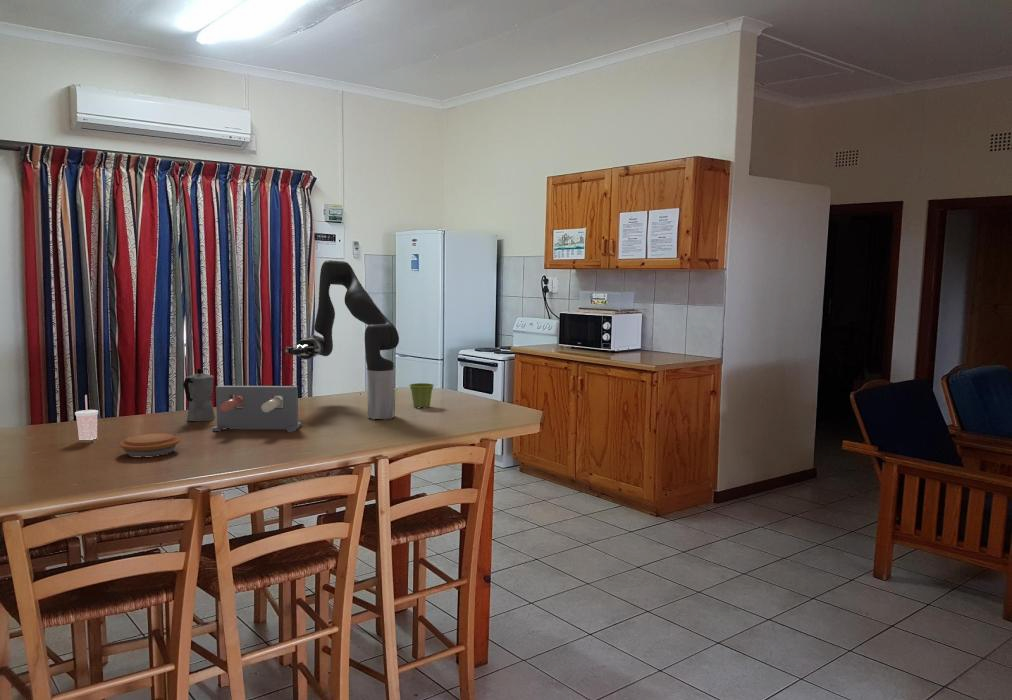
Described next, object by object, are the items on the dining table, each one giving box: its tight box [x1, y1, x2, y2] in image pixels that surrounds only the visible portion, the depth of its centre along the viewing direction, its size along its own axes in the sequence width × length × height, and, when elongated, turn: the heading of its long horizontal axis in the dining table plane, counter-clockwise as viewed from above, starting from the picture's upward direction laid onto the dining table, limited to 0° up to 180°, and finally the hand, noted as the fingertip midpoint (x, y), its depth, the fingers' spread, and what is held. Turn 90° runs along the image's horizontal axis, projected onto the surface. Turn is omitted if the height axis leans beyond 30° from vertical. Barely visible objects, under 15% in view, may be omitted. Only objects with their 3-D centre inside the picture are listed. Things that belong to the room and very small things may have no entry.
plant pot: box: [408, 382, 435, 408], centre depth 284 cm, size 9×9×9 cm
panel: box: [211, 385, 303, 433], centre depth 242 cm, size 26×10×14 cm, turn 90°
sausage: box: [220, 395, 243, 412], centre depth 238 cm, size 5×15×5 cm, turn 0°
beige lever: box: [261, 396, 283, 412], centre depth 238 cm, size 5×15×5 cm, turn 0°
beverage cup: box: [74, 394, 99, 441], centre depth 223 cm, size 6×6×14 cm
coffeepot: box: [182, 368, 216, 422], centre depth 255 cm, size 15×9×18 cm, turn 169°
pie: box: [119, 432, 181, 457], centre depth 208 cm, size 15×16×5 cm
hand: (295, 352), depth 262 cm, fingers closed
